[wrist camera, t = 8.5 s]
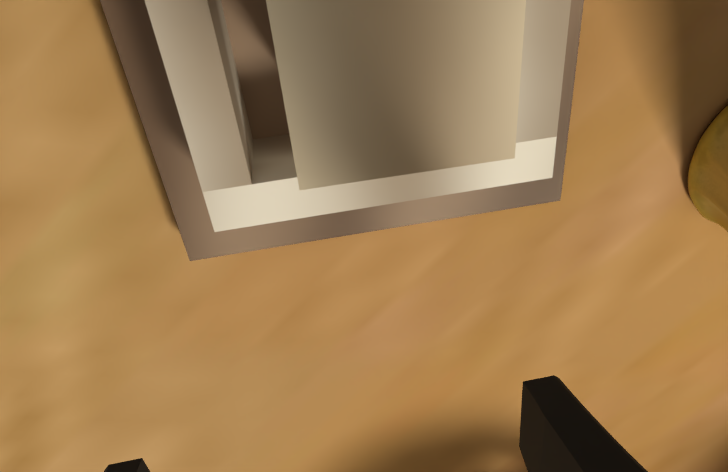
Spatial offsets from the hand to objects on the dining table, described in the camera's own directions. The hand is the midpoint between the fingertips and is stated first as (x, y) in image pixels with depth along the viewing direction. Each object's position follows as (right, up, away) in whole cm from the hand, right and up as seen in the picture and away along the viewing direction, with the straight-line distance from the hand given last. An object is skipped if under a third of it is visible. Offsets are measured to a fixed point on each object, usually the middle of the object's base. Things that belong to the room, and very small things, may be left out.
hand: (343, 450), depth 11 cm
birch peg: (0, +10, +3) cm, 11 cm away
